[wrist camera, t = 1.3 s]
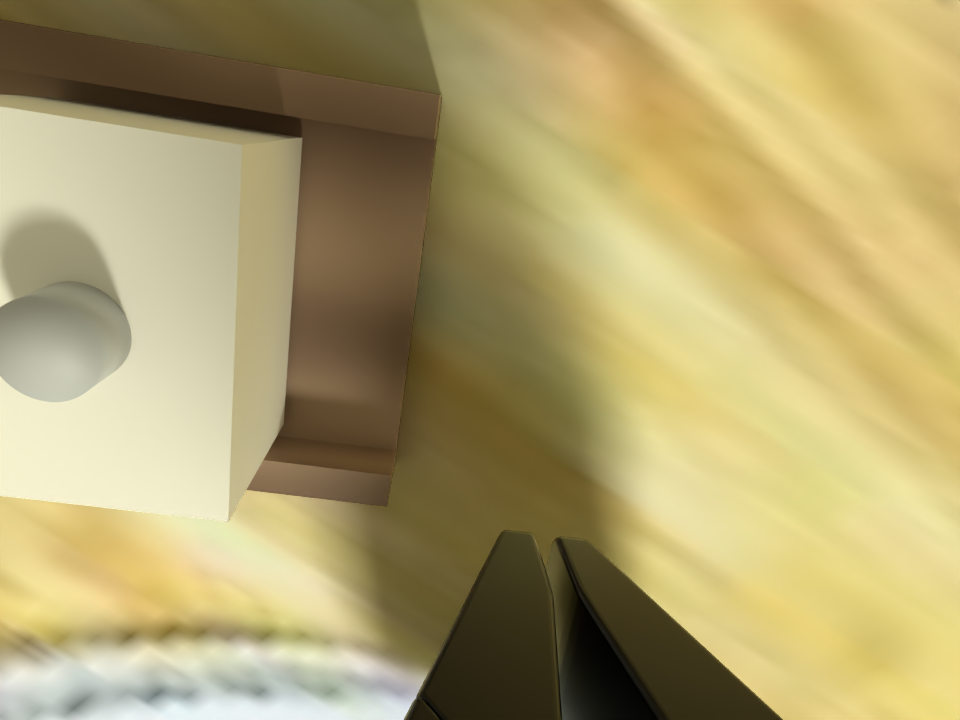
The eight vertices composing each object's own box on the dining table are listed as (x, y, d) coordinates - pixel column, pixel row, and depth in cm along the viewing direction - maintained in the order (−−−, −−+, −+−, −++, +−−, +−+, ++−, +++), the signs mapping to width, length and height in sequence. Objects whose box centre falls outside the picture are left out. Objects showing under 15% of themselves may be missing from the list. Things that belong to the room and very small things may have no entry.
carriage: (283, 424, 19) (208, 555, 14) (69, 397, 19) (-103, 520, 13) (302, 137, 17) (219, 148, 11) (54, 97, 16) (-172, 85, 10)
